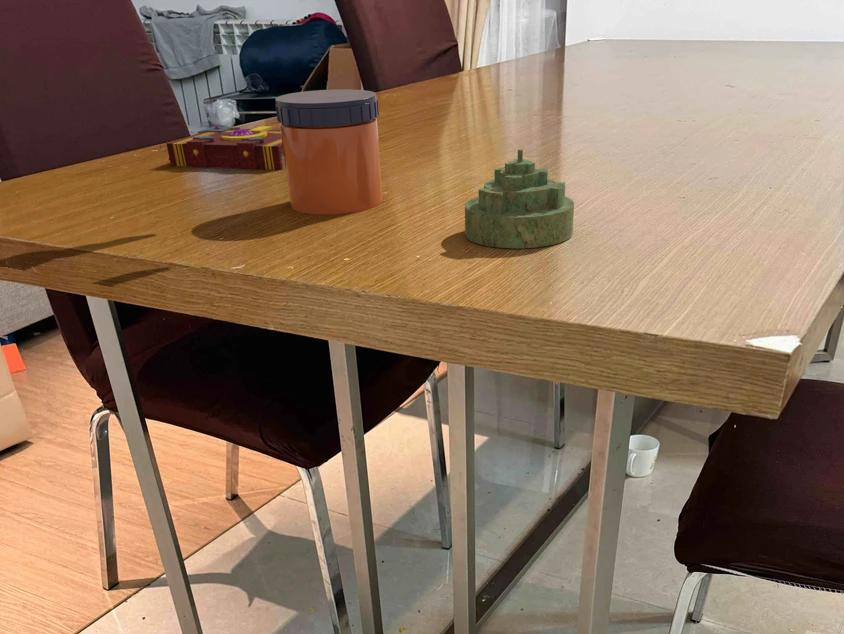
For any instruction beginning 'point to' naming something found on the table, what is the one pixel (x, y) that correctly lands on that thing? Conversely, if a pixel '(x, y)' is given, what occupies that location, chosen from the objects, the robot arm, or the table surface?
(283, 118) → the lid
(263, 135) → the decorative book
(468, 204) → the decorative artifact
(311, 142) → the jar
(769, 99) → the table surface
